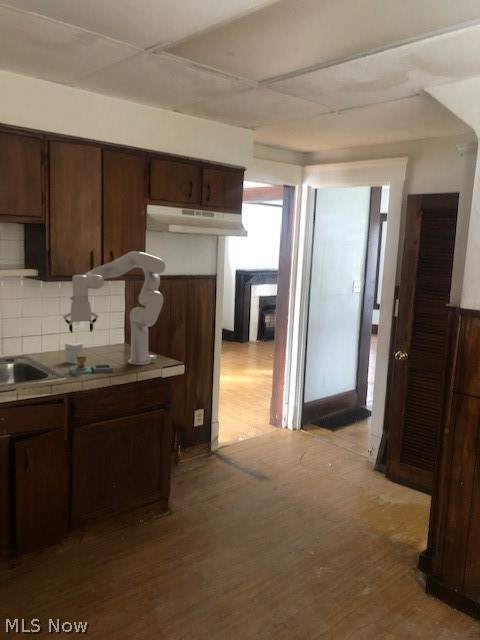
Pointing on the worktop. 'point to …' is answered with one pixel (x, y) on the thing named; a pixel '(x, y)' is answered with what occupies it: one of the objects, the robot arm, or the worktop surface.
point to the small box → (72, 352)
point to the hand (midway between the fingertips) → (81, 331)
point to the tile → (74, 371)
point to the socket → (102, 368)
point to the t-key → (81, 361)
